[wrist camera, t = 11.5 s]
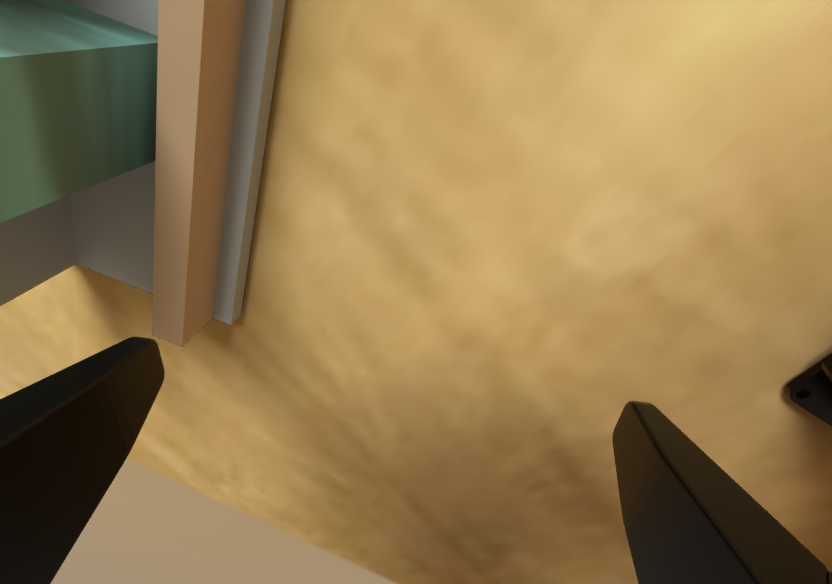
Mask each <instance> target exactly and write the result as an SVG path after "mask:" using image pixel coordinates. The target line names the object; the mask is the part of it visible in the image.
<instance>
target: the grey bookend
mask: <svg viewBox="0 0 832 584" xmlns="http://www.w3.org/2000/svg"><path fill="white" fill-rule="evenodd" d="M64 1H67V2H69V3H72V4H75V5H77V6H80V7H83V8H85V9H88V10H90V11H93V12H96V13H98V14H101V15H104V16H106V17H109V18H112V19H114V20H117V21H119V22H122V23H125V24H127V25H130V26H133V27H135V28H138V29H141V30H143V31H146V32H149V33H151V34H154V35H156V36H158V60H157V112H156V160H155V161H153V162H150V163H148V164H145V165H143V166H140V167H138V168H135V169H133V170H131V171H128V172H126V173H123V174H121V175H118V176H116V177H113V178H111V179H108V180H106V181H103V182H101V183H98V184H96V185H93V186H91V187H88V188H86V189H83V190H81V191H78V192H76V193H74V194H71V195H69V196H66V197H64V198H61V199H59V200H56V201H54V202H51V203H49V204H46V205H44V206H41V207H39V208H36V209H34V210H31V211H29V212H26V213H24V214H21V215H19V216H16V217H14V218H12V219H9V220H7V221H4V222H2V223H0V306H1V305H3V304H5V303H7V302H9V301H10V300H12V299H14V298H16V297H17V296H19V295H21V294H23V293H25V292H26V291H28V290H30V289H32V288H34V287H35V286H37V285H39V284H41V283H43V282H44V281H46V280H48V279H50V278H52V277H53V276H55V275H57V274H59V273H60V272H62V271H64V270H66V269H68V268H69V267H71V266H73V265H75V264H77V265H80V266H82V267H85V268H87V269H90V270H92V271H95V272H97V273H100V274H103V275H105V276H108V277H110V278H113V279H115V280H118V281H120V282H123V283H125V284H128V285H130V286H133V287H135V288H138V289H140V290H143V291H146V292H148V293H151V294H153V324H152V335H153V336H156V337H158V338H161V339H163V340H166V341H168V342H171V343H173V344H176V345H178V346H181V347H183V346H184V345H185V344H186V343H187V342H188V341H189V340H190V339H191V338H192V337H193V336H194V335H195V334H196V333H197V332H198V331H199V330H200V329H201V328H203V327H204V326H205V325H206V324H207V323H208V322H209V321H210V320H211V319H212V318H214V319H216V320H219V321H221V322H224V323H226V324H229V325H231V324H232V323H233V322H234V321H235V320H236V319H237V318H238V317H239V316H240V315H241V310H242V303H243V296H244V289H245V282H246V275H247V269H248V262H249V255H250V248H251V241H252V234H253V227H254V220H255V213H256V206H257V199H258V192H259V185H260V178H261V171H262V164H263V158H264V151H265V144H266V137H267V130H268V123H269V116H270V109H271V102H272V95H273V88H274V81H275V74H276V67H277V60H278V53H279V47H280V40H281V33H282V26H283V19H284V12H285V5H286V0H64Z"/></svg>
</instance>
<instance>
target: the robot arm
mask: <svg viewBox="0 0 832 584" xmlns="http://www.w3.org/2000/svg"><path fill="white" fill-rule="evenodd" d="M163 380H164V367H163V363H162V359H161V355H160V351H159V347H158V344H157V342H156V341H155V340H153V339H150V338H142V337H130V338H128V339H126V340H124V341H122V342H120V343H118V344H115V345H113V346H111V347H109V348H107V349H105V350H103V351H101V352H99V353H97V354H95V355H92V356H90V357H88V358H86V359H84V360H82V361H80V362H78V363H76V364H74V365H71V366H69V367H67V368H65V369H63V370H61V371H59V372H57V373H55V374H53V375H51V376H48V377H46V378H44V379H42V380H40V381H38V382H36V383H34V384H32V385H30V386H27V387H25V388H23V389H21V390H19V391H17V392H15V393H13V394H11V395H9V396H7V397H4V398H2V399H0V584H50V583H51V582H52V580H53V578H54V577H55V575H56V573H57V572H58V570H59V568H60V567H61V565H62V563H63V562H64V560H65V559H66V557H67V555H68V554H69V552H70V550H71V549H72V547H73V545H74V544H75V542H76V540H77V538H78V537H79V536H80V534H81V532H82V531H83V529H84V527H85V526H86V524H87V522H88V521H89V519H90V518H91V516H92V514H93V513H94V511H95V509H96V508H97V506H98V504H99V503H100V501H101V499H102V498H103V496H104V494H105V493H106V491H107V490H108V488H109V486H110V485H111V483H112V481H113V480H114V478H115V476H116V475H117V473H118V471H119V470H120V468H121V467H122V465H123V463H124V461H125V460H126V458H127V456H128V455H129V453H130V451H131V449H132V447H133V445H134V443H135V441H136V439H137V437H138V435H139V432H140V430H141V428H142V426H143V424H144V422H145V420H146V418H147V415H148V413H149V411H150V409H151V407H152V405H153V403H154V401H155V398H156V396H157V394H158V392H159V390H160V388H161V386H162V383H163ZM803 389H805V390H804V391H802V392H798V391H800V390H803ZM785 390H786V393H787V395H788V396H789V398H790V399H791V400H792V401H793V402H795V403H796V404H798V405H799V406H801V407H803V408H804V409H806V410H807V411H809V412H810V413H812V414H813V415H815V416H817V417H818V418H820V419H821V420H823V421H824V422H826V423H827V424H829V425H830V426H832V354H830V355H829V356H827V357H826V358H824V359H823V360H821V361H820V362H818V363H817V364H816V365H814V366H813V367H811V368H810V369H808V370H807V371H805V372H804V373H802V374H801V375H799V376H798V377H796V378H795V379H793V380H792V381H790V382H789V383H788V384H787V385H786V388H785ZM613 449H614V456H615V464H616V472H617V479H618V487H619V494H620V502H621V509H622V515H623V521H624V526H625V530H626V534H627V539H628V543H629V547H630V551H631V555H632V559H633V563H634V567H635V571H636V575H637V579H638V583H639V584H832V572H831V571H827V569H826V566H825V565H824V564H823V563H822V562H820V561H819V560H818V559H817V558H816V557H815V556H814V555H813V554H812V553H811V552H810V551H809V550H808V549H807V548H806V547H804V546H803V545H802V544H801V543H800V542H799V541H798V540H797V539H796V538H795V537H794V536H793V535H792V534H791V533H790V532H788V531H787V530H786V529H785V528H784V527H783V526H782V525H781V524H780V523H779V522H778V521H777V520H776V519H775V518H774V517H772V516H771V515H770V514H769V513H768V512H767V511H766V510H765V509H764V508H763V507H762V506H761V505H760V504H759V503H758V502H756V501H755V500H754V499H753V498H752V497H751V496H750V495H749V494H748V493H747V492H746V491H745V490H744V489H743V488H742V487H741V486H739V485H738V484H737V483H736V482H735V481H734V480H733V479H732V478H731V477H730V476H729V475H728V474H727V473H726V472H725V471H723V470H722V469H721V468H720V467H719V466H718V465H717V464H716V463H715V462H714V461H713V460H712V459H711V458H710V457H709V456H707V455H706V454H705V453H704V452H703V451H702V450H701V449H700V448H699V447H698V446H697V445H696V444H695V443H694V442H693V441H691V440H690V439H689V438H688V437H687V436H686V435H685V434H684V433H683V432H682V431H681V430H680V429H679V428H678V427H677V426H675V425H674V424H673V423H672V422H671V421H670V420H669V419H668V418H667V417H666V416H665V415H664V414H663V413H662V412H661V411H659V410H658V409H657V408H656V407H655V406H654V405H652V404H650V403H646V402H638V401H629V402H628V403H627V404H626V405H625V407H624V409H623V411H622V413H621V415H620V418H619V420H618V422H617V424H616V426H615V429H614V432H613Z"/></svg>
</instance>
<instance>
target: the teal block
mask: <svg viewBox="0 0 832 584" xmlns="http://www.w3.org/2000/svg"><path fill="white" fill-rule="evenodd" d="M157 60H158V36H156V35H154V34H151V33H149V32H146V31H143V30H141V29H138V28H135V27H133V26H130V25H127V24H125V23H122V22H119V21H117V20H114V19H112V18H109V17H106V16H104V15H101V14H98V13H96V12H93V11H90V10H88V9H85V8H83V7H80V6H77V5H75V4H72V3H69V2H67V1H64V0H0V223H2V222H4V221H7V220H9V219H12V218H14V217H16V216H19V215H21V214H24V213H26V212H29V211H31V210H34V209H36V208H39V207H41V206H44V205H46V204H49V203H51V202H54V201H56V200H59V199H61V198H64V197H66V196H69V195H71V194H74V193H76V192H78V191H81V190H83V189H86V188H88V187H91V186H93V185H96V184H98V183H101V182H103V181H106V180H108V179H111V178H113V177H116V176H118V175H121V174H123V173H126V172H128V171H131V170H133V169H135V168H138V167H140V166H143V165H145V164H148V163H150V162H153V161H155V160H156V112H157Z"/></svg>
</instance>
